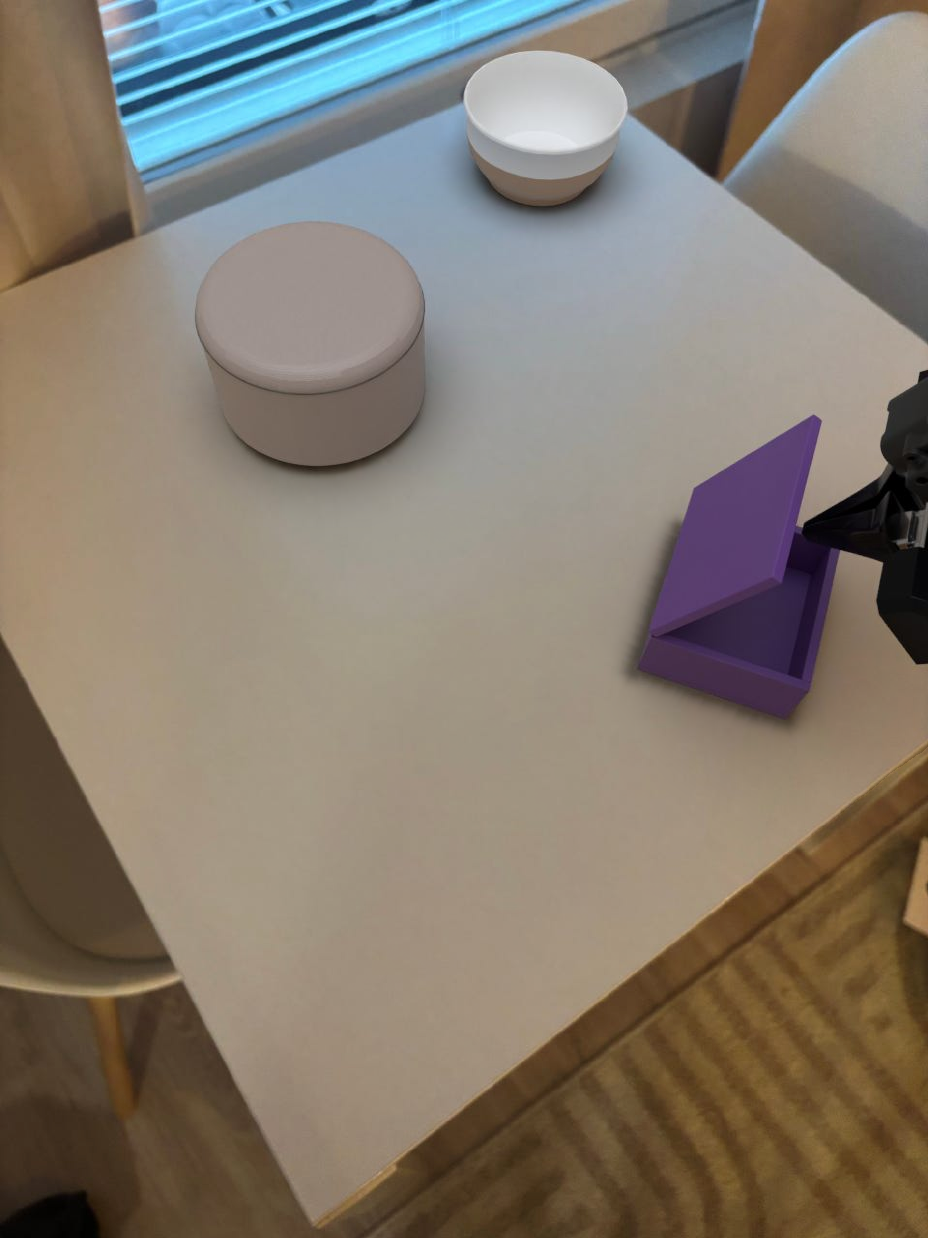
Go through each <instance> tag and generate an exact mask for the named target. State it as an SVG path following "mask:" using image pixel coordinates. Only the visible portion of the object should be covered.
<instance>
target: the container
mask: <svg viewBox="0 0 928 1238" xmlns="http://www.w3.org/2000/svg"><path fill="white" fill-rule="evenodd" d="M196 296H197V297H196V301H195V309H194V324H195V329H196V333H197V336H198V339H199V341H200V343H201V346H202V349H203V352H204V355H205V360H206V362H207V363H206V364H207V367H208V369H209V373H210V375H211V378H212V382H213V386H214V389H215V392H216V395H217V398H218V402H219V405H220V409H221V411H222V414H223V416H224V418H225V420H226V423H227V425H229V427H230V428H231V430H232V431H233V432H234V434H236V435H237V436H238V438H239V439H240V440H241V441H243V442H244V443H245V444H247V445H248V446H249V447H251V448H252V449H253V450H255V451H257V452H259V453H260V454H263V455H265V456H267V457H269V458H272V459H274V460H277V461H281V462H285V463H288V464H294V465H299V466H309V467H310V466H311V467H321V466H323V467H324V466H333V465H334V466H336V465H340V464H347V463H350V462H354V461H357V460H361V459H363V458H366V457H369V456H371V455H373V454H375V453H377V452H379V451H381V450H383V449H384V448H386V447H388V446H389V445H391V444H392V443H393V442H395V441H396V440H397V439H398V438H399V437H401V436H402V435H403V434H404V432H406V431H407V429H408V428H409V427H410V426H411V425H412V424H413V422H414V420H415V419H416V417H417V415H418V414H419V412H420V409H421V407H422V405H423V401H424V398H425V392H426V349H425V348H426V345H425V344H426V341H425V336H426V335H425V315H426V300H425V294H424V290H423V288H422V285H421V282H420V280H419V278H418V276H417V274H416V272H415V270H414V268H413V267H412V265H411V264H410V262H409V261H408V260H407V259H406V258H405V256H403V254H402V253H401V252H400V251H399V250H397V248H395V247H394V246H393V245H392V244H390V243H389V242H387V241H386V240H384V239H383V238H381V237H380V236H377V235H376V234H373V233H371V232H369V231H366V230H364V229H361V228H357V227H354V226H352V225H347V224H343V223H339V222H338V223H337V222H333V221H332V222H330V221H319V220H317V221H297V222H290V223H284V224H280V225H274V226H272V227H269V228H264V229H263V230H260V231H258V232H255V233H252V234H251V235H249V236H247V237H245V238H243V239H241V240H240V241H237V243H235V244H233V245H232V246H230V248H228V249H227V250H225V251H224V252H223V253H222V254H221V255H220V256H219V257H218V258H217V259H216V260H215V261H214V263H213V264H212V265H211V266H210V267H209V269H208V271H207V272H206V273H205V275H204V277H203V280H202V282H201V284H200V286H199V288H198V292H197V294H196Z"/></svg>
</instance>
